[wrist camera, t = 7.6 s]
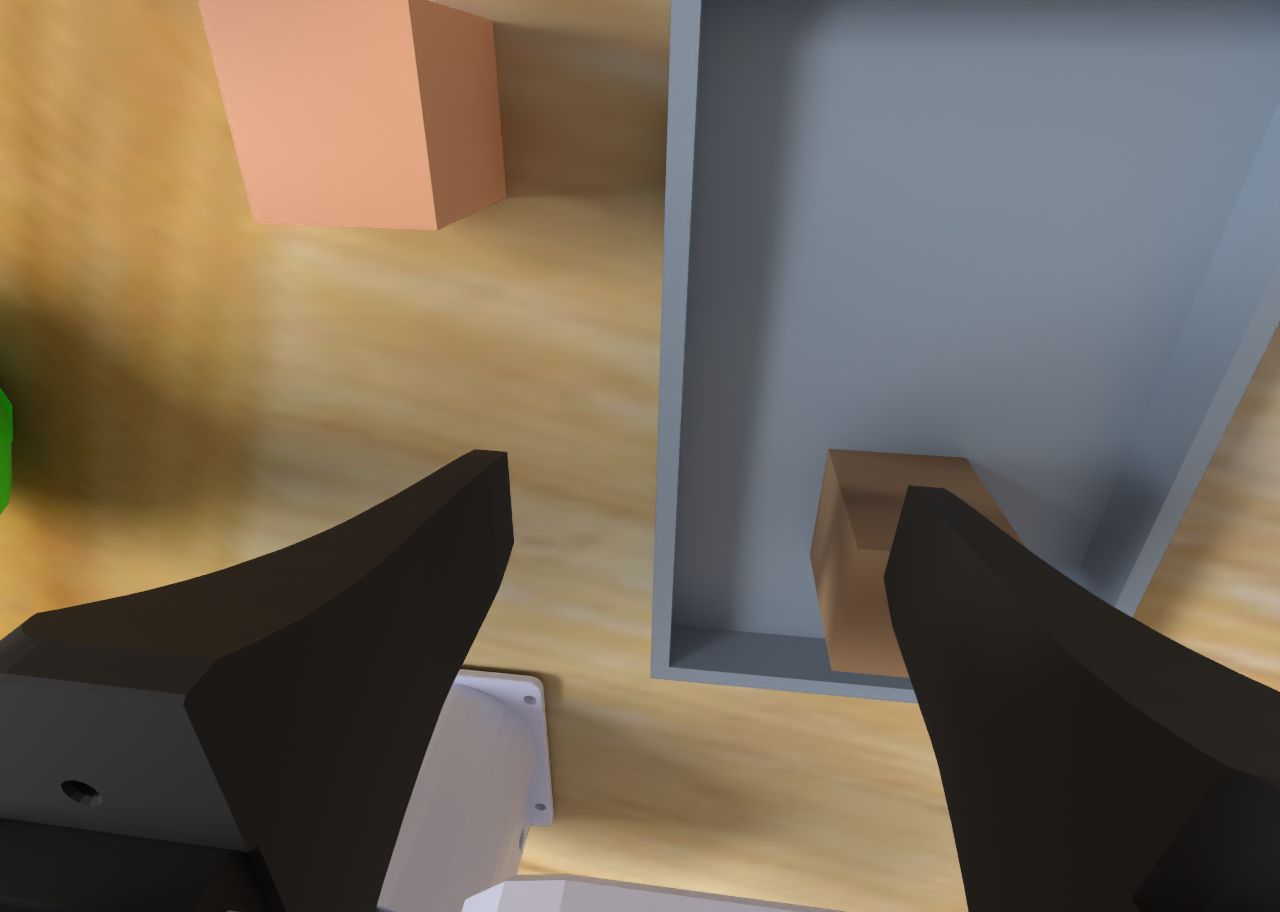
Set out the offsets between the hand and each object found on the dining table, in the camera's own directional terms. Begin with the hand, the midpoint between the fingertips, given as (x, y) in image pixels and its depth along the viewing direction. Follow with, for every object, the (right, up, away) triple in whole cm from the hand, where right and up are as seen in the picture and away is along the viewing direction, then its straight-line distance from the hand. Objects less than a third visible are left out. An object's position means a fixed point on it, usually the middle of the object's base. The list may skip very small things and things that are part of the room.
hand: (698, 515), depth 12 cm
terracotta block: (-7, +10, +5) cm, 13 cm away
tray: (+7, +3, +7) cm, 10 cm away
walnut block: (+7, -1, +9) cm, 11 cm away
